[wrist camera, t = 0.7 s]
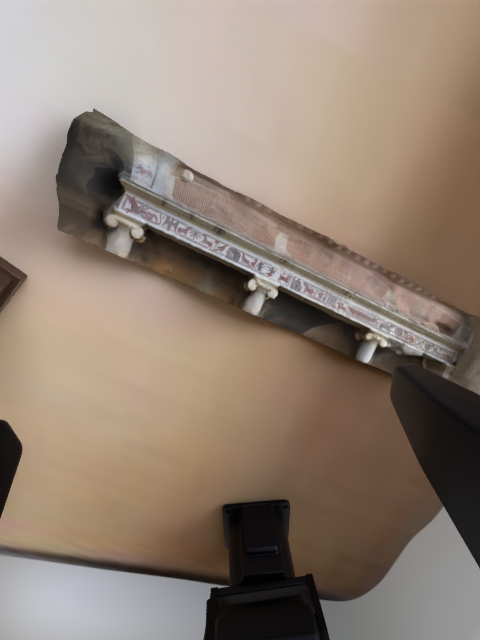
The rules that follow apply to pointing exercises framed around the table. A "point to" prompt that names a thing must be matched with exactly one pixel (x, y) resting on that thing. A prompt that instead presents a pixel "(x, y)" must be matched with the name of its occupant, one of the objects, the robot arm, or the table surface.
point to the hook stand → (9, 281)
